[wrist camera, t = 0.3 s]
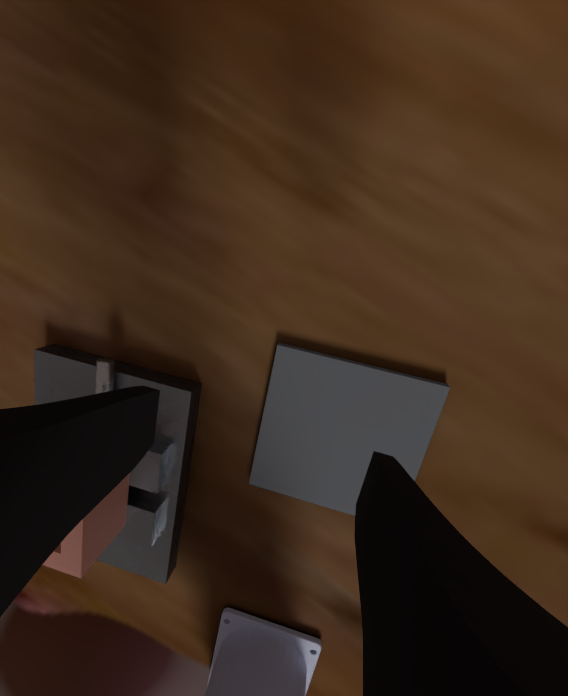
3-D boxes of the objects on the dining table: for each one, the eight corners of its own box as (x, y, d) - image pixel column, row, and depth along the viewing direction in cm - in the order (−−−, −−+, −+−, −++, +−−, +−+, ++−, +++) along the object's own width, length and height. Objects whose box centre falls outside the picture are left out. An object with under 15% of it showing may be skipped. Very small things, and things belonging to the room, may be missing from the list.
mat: (395, 521, 21) (396, 528, 21) (251, 478, 23) (248, 483, 22) (446, 383, 19) (450, 387, 18) (279, 342, 20) (277, 344, 19)
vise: (175, 566, 26) (133, 643, 21) (53, 524, 27) (-17, 587, 22) (203, 372, 21) (157, 408, 16) (53, 333, 22) (-35, 354, 17)
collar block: (125, 524, 22) (80, 578, 18) (60, 503, 23) (4, 551, 19) (130, 463, 21) (83, 507, 17) (61, 442, 21) (0, 480, 18)
